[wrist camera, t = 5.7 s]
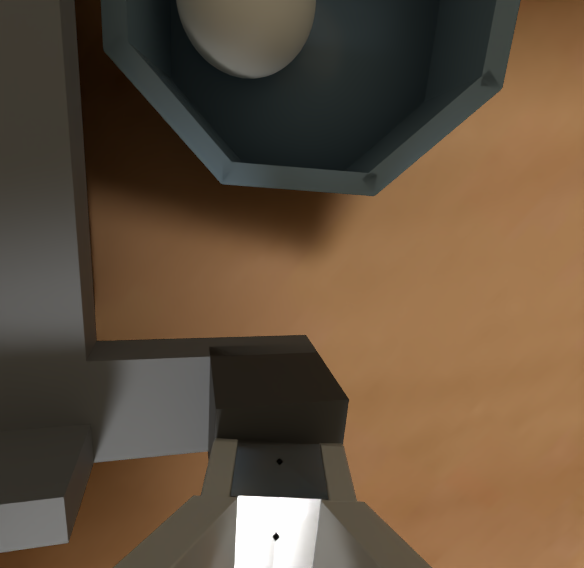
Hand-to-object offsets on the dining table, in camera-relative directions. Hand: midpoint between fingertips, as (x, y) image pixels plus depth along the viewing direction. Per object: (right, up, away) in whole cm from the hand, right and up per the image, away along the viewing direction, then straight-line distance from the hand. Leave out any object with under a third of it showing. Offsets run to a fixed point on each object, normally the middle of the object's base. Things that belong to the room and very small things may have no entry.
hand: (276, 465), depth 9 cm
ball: (-1, +12, +3) cm, 13 cm away
